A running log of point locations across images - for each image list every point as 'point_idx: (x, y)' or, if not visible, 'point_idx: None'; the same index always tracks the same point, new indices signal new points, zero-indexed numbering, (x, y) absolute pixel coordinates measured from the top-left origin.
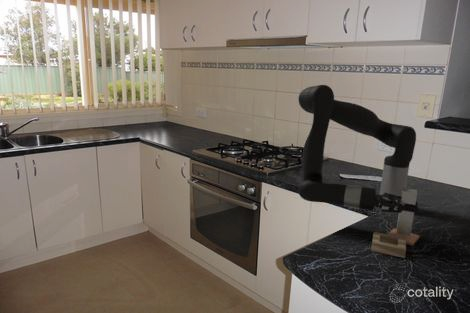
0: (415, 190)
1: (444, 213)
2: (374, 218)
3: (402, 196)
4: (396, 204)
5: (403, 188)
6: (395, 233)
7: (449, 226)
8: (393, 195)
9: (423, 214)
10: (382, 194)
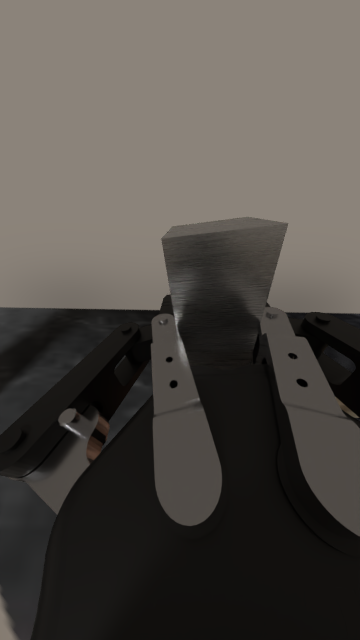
0: (189, 225)
1: (37, 326)
2: (12, 537)
3: (271, 277)
4: (356, 337)
5: (180, 235)
6: None
7: (101, 322)
8: (95, 365)
9: (31, 353)
10: (183, 515)
